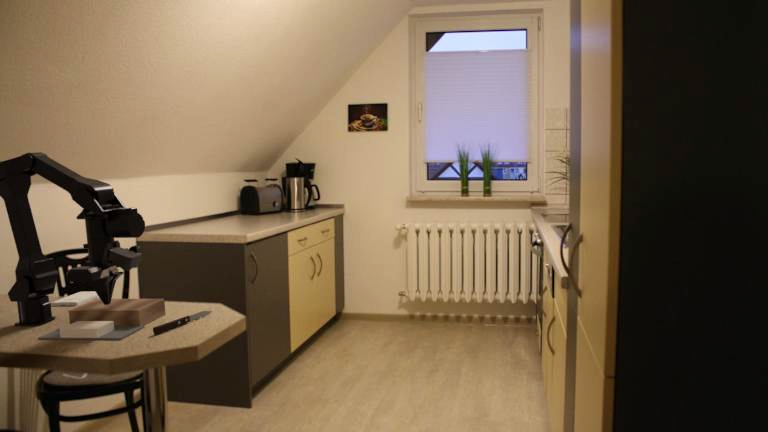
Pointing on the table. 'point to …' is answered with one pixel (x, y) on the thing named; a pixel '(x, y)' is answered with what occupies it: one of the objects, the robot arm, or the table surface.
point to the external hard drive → (76, 299)
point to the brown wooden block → (120, 311)
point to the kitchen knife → (178, 322)
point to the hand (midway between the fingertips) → (107, 304)
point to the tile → (86, 329)
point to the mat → (116, 334)
